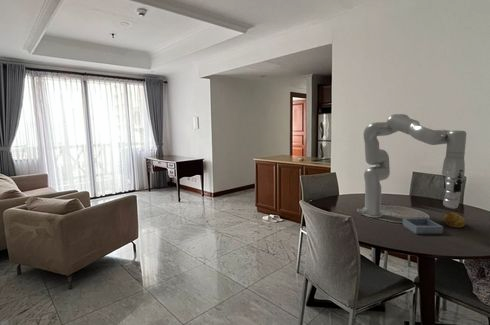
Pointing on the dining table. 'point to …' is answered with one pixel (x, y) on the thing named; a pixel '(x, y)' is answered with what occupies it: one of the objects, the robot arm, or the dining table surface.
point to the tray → (422, 226)
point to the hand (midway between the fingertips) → (452, 189)
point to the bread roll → (454, 220)
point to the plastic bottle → (450, 194)
